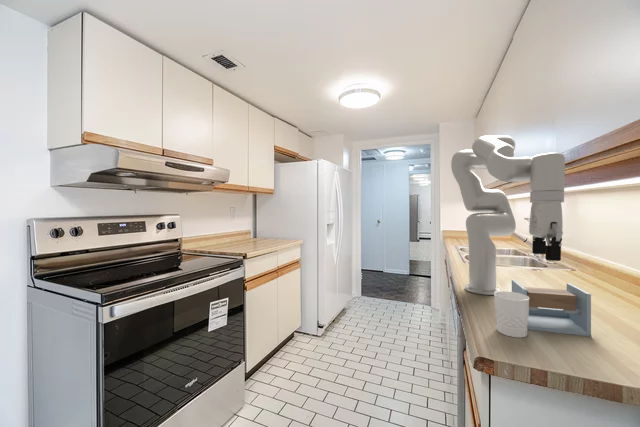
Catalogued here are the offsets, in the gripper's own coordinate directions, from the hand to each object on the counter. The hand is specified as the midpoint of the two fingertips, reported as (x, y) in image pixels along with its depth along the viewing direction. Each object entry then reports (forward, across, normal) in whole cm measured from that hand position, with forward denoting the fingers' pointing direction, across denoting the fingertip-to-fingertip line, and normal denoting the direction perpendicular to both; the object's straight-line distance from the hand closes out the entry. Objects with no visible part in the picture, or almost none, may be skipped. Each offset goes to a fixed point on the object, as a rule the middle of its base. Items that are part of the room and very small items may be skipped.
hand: (545, 256), depth 80 cm
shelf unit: (+19, +1, 0) cm, 19 cm away
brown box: (+14, +1, 0) cm, 14 cm away
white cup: (+19, +10, -11) cm, 24 cm away
